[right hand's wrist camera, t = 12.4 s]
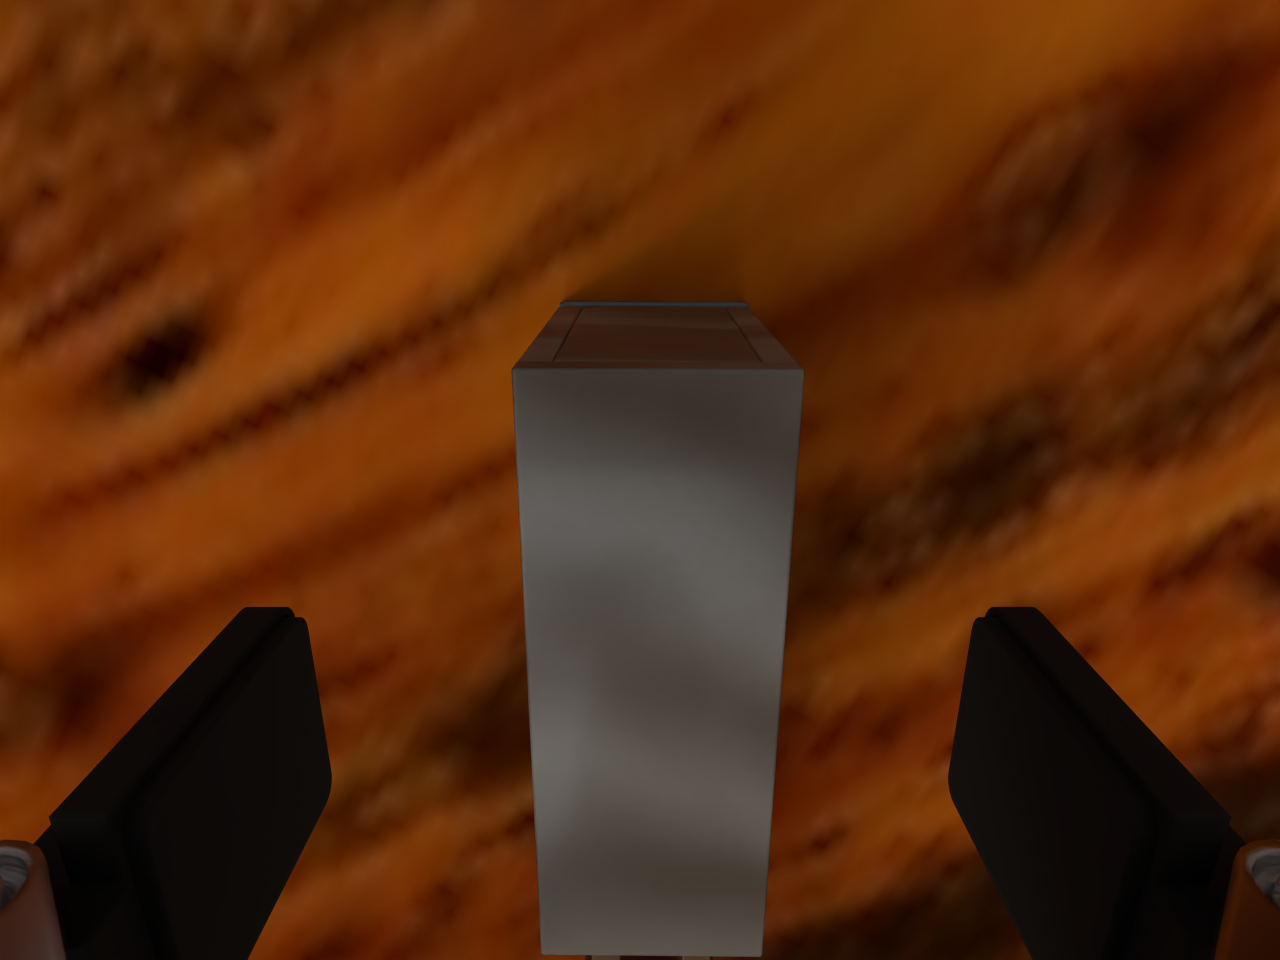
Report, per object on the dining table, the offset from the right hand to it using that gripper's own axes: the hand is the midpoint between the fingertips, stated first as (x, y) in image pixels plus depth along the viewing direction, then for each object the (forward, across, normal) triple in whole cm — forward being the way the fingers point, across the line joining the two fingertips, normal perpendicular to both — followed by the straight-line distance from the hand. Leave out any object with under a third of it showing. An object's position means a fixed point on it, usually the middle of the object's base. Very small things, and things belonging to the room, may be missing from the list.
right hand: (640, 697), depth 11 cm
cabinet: (+16, 0, -4) cm, 17 cm away
